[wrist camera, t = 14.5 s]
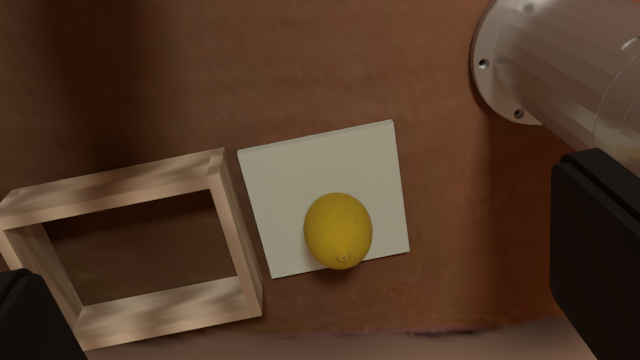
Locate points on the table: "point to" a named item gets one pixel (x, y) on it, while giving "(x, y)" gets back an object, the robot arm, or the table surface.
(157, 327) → the brown wooden tray
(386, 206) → the board
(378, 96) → the table surface
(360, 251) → the lemon
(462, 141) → the table surface
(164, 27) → the table surface
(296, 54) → the table surface
